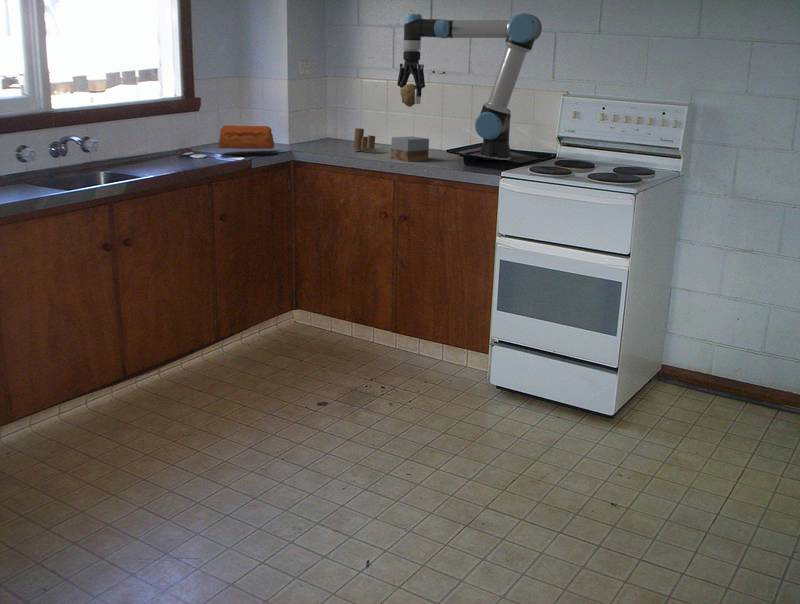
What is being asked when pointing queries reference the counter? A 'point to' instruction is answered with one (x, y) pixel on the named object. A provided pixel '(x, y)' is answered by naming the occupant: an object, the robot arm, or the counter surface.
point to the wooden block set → (363, 140)
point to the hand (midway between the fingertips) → (410, 103)
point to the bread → (246, 137)
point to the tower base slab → (409, 155)
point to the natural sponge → (408, 94)
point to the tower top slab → (410, 143)
